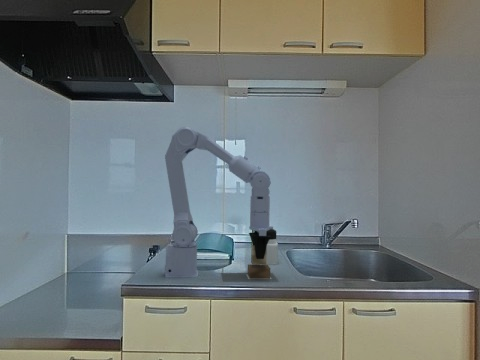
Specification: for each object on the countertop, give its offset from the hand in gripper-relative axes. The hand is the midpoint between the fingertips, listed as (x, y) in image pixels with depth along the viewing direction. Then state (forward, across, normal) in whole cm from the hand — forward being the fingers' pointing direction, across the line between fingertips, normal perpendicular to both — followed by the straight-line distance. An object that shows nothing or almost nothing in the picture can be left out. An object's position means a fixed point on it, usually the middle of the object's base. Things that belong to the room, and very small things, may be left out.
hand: (259, 257), depth 141 cm
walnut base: (+6, 0, 0) cm, 6 cm away
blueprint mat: (+6, -1, +3) cm, 7 cm away
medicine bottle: (+6, +23, -6) cm, 25 cm away
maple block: (+2, 0, 0) cm, 2 cm away
